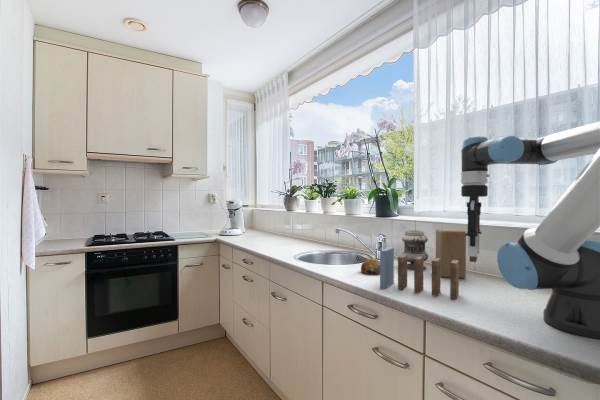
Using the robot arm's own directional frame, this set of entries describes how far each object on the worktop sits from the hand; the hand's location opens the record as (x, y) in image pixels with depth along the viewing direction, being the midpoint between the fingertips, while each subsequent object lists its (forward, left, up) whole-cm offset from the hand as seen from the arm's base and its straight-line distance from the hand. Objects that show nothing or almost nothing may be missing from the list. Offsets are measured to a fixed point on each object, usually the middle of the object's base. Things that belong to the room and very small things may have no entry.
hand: (473, 254), depth 100 cm
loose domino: (0, 0, -2) cm, 2 cm away
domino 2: (+8, +15, -15) cm, 23 cm away
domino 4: (+3, +5, -15) cm, 16 cm away
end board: (+14, +25, -15) cm, 33 cm away
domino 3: (+6, +10, -15) cm, 19 cm away
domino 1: (+11, +20, -15) cm, 28 cm away
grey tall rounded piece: (+46, +5, -15) cm, 49 cm away
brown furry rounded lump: (+35, +28, -15) cm, 47 cm away
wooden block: (+32, -6, -15) cm, 36 cm away
